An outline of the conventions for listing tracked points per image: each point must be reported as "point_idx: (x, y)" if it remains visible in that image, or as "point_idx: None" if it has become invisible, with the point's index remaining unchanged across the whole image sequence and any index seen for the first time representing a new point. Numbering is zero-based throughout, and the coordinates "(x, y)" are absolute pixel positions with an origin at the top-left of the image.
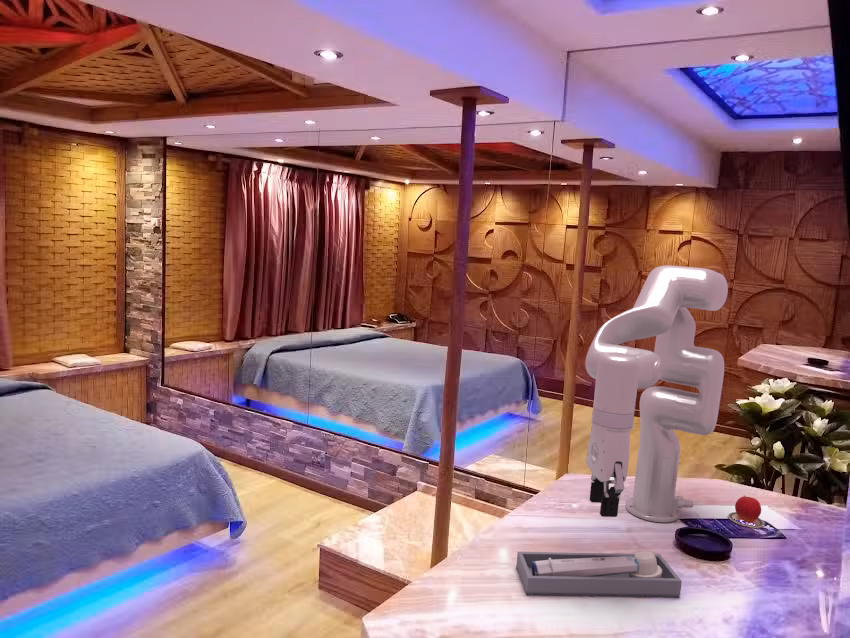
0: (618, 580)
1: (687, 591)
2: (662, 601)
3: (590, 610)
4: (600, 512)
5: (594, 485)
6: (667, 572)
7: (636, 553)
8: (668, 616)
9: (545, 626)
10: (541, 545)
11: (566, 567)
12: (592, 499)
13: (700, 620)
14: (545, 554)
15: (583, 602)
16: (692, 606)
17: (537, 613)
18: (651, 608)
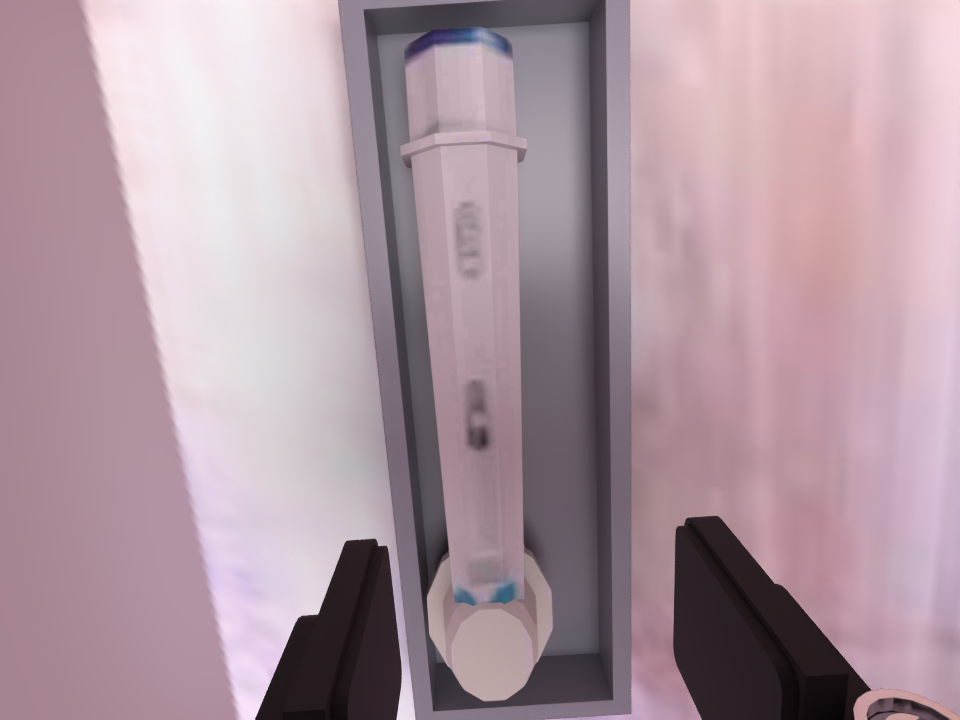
0: (390, 471)
1: None
2: None
3: (284, 305)
4: (357, 552)
5: (770, 682)
6: None
7: (516, 622)
8: (294, 592)
9: (126, 70)
10: (830, 188)
11: (430, 227)
12: (686, 547)
13: None
14: (606, 144)
15: (339, 288)
16: None
17: (218, 49)
18: (337, 549)
